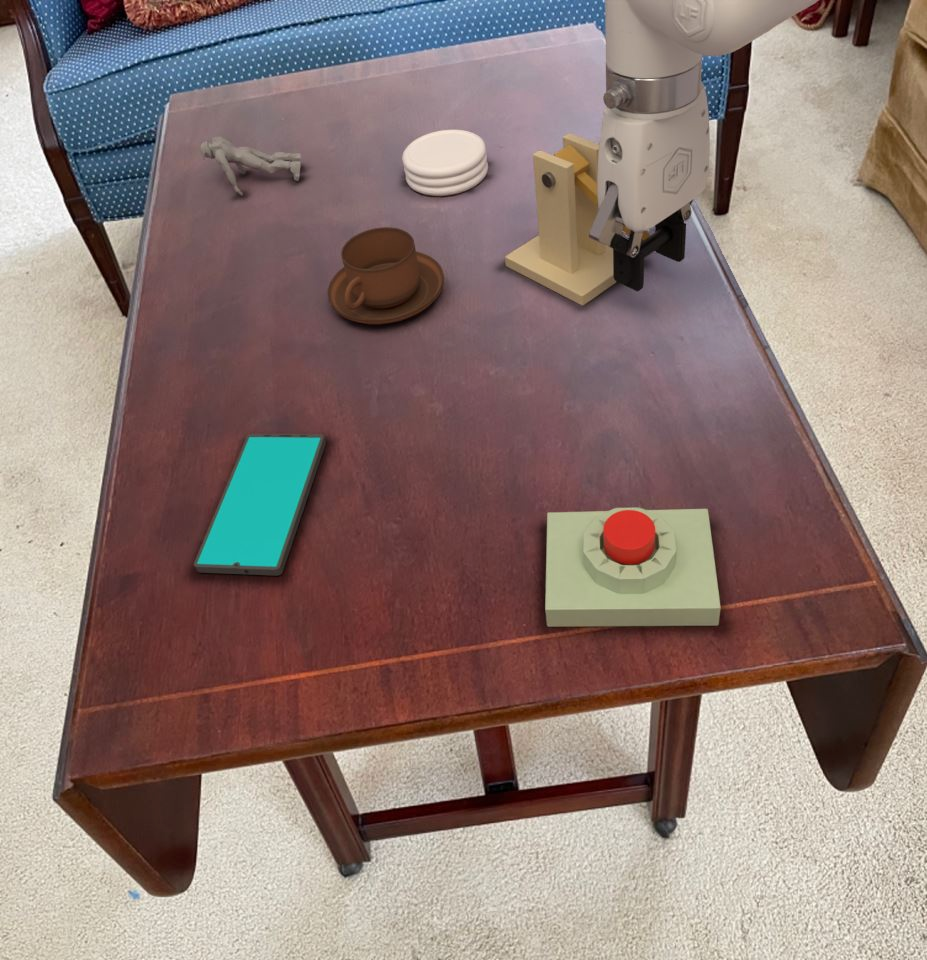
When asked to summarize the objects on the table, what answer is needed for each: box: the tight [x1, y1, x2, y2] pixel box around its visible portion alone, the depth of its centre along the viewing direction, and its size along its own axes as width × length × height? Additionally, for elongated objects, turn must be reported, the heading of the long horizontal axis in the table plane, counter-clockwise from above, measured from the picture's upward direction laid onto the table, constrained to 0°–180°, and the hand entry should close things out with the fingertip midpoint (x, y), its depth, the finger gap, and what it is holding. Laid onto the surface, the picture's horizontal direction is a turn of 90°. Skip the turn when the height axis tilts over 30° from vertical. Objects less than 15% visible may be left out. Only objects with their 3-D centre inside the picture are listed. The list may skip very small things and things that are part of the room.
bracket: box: [504, 132, 618, 306], centre depth 92 cm, size 11×9×13 cm
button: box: [603, 510, 655, 564], centre depth 66 cm, size 4×4×2 cm
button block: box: [544, 506, 721, 628], centre depth 68 cm, size 12×9×4 cm
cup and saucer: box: [327, 226, 445, 325], centre depth 95 cm, size 12×12×6 cm
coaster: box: [401, 129, 489, 197], centre depth 111 cm, size 10×10×4 cm
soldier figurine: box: [199, 135, 302, 197], centre depth 116 cm, size 6×5×12 cm
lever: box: [553, 145, 673, 259], centre depth 88 cm, size 13×5×2 cm, turn 42°
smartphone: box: [193, 433, 327, 577], centre depth 79 cm, size 7×1×15 cm
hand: (649, 268), depth 89 cm, fingers closed on lever, 5 cm apart
